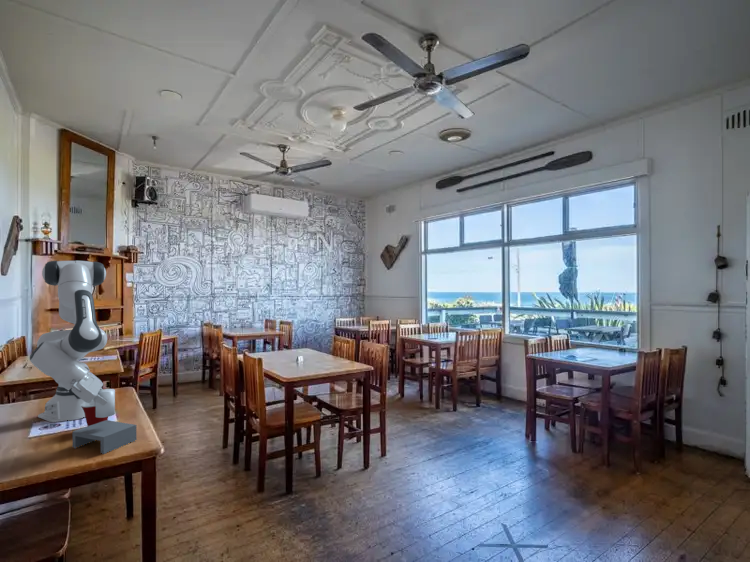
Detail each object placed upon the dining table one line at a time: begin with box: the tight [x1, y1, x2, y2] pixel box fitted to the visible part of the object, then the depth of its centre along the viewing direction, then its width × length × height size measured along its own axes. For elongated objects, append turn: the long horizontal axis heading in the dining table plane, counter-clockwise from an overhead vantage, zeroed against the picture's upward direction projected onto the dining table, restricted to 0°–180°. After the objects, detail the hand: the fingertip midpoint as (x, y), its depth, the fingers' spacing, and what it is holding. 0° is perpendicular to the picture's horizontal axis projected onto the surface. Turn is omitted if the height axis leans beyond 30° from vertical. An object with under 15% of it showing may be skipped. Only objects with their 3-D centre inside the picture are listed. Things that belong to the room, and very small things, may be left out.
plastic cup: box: [81, 400, 109, 426], centre depth 169 cm, size 11×11×12 cm
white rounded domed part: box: [96, 388, 116, 418], centre depth 154 cm, size 6×6×9 cm
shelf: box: [72, 420, 137, 455], centre depth 154 cm, size 16×13×6 cm
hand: (107, 400), depth 154 cm, fingers closed on white rounded domed part, 6 cm apart
